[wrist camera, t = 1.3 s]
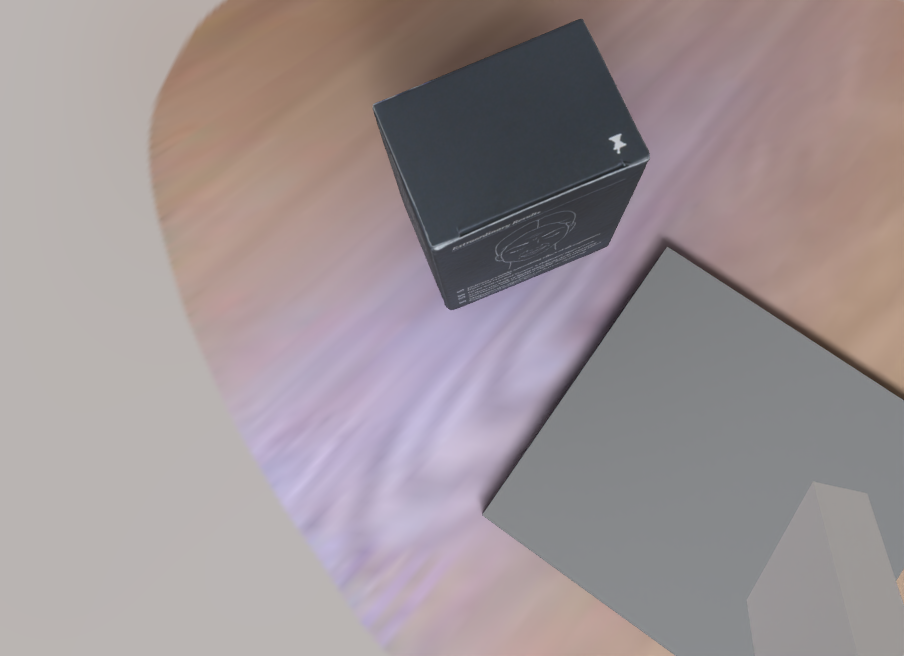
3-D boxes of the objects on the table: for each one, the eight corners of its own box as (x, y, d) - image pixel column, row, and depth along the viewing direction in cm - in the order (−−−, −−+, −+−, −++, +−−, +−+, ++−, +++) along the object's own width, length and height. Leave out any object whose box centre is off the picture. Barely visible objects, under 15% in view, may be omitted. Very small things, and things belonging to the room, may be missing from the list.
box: (558, 137, 38) (586, 11, 27) (609, 248, 37) (658, 160, 26) (400, 202, 38) (366, 99, 27) (447, 315, 37) (431, 253, 26)
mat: (966, 448, 35) (977, 448, 34) (789, 736, 33) (796, 743, 32) (663, 251, 37) (667, 246, 36) (482, 514, 35) (482, 515, 34)
